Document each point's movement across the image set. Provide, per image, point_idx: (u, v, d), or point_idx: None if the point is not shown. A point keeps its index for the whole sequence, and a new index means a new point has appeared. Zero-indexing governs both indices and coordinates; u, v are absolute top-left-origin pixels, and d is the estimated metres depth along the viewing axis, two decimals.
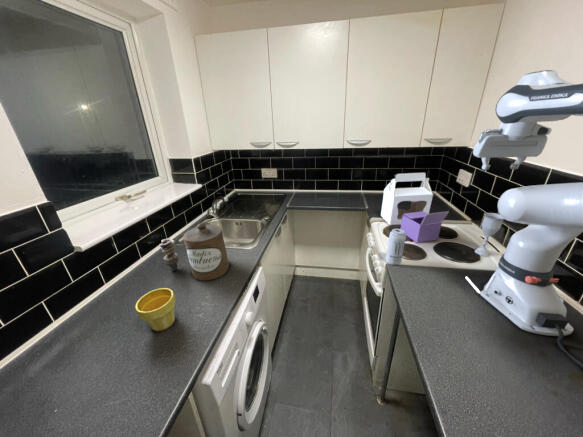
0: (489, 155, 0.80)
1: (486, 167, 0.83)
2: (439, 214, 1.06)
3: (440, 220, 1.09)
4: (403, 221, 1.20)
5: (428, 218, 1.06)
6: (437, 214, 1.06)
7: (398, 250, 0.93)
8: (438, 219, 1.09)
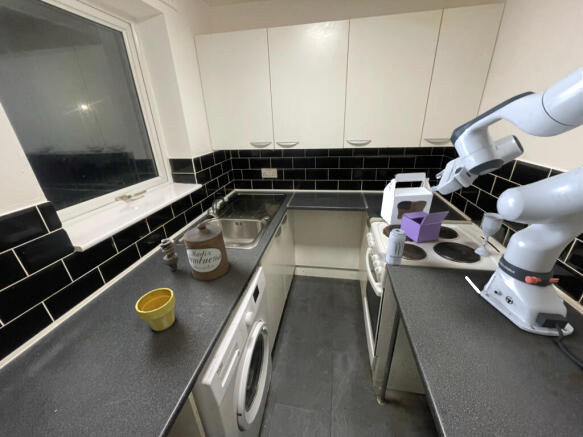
0: (447, 166, 0.99)
1: (437, 174, 1.02)
2: (439, 214, 1.06)
3: (440, 220, 1.09)
4: (403, 221, 1.20)
5: (428, 218, 1.06)
6: (437, 214, 1.06)
7: (398, 250, 0.93)
8: (438, 219, 1.09)
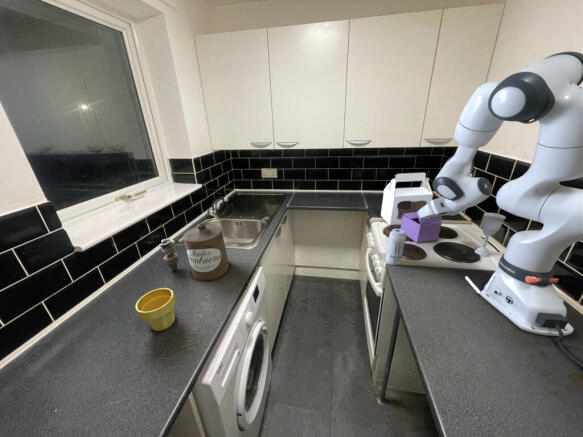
0: None
1: None
2: None
3: (438, 219, 1.10)
4: (403, 221, 1.20)
5: None
6: None
7: (398, 250, 0.93)
8: (435, 218, 1.10)
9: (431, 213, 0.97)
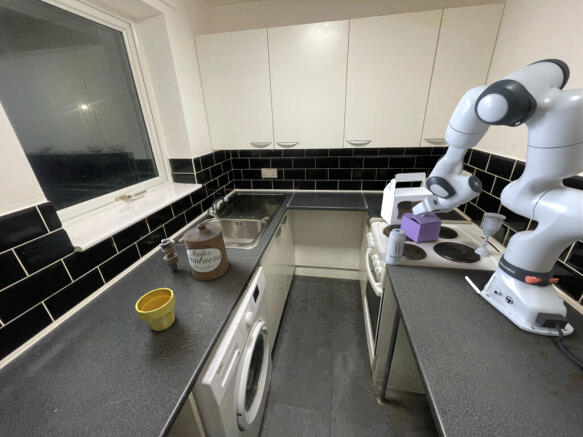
0: None
1: None
2: (426, 215, 1.14)
3: (438, 220, 1.11)
4: (403, 221, 1.20)
5: (419, 218, 1.12)
6: None
7: (398, 250, 0.93)
8: (433, 219, 1.11)
9: (425, 210, 1.01)
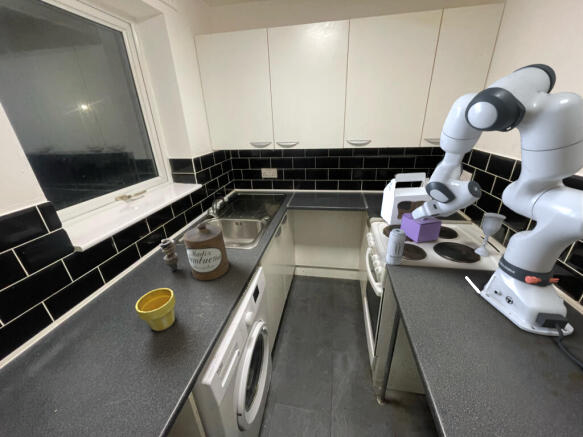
0: None
1: None
2: None
3: (437, 220, 1.11)
4: (403, 221, 1.20)
5: (418, 220, 1.12)
6: None
7: (398, 250, 0.93)
8: (433, 220, 1.12)
9: (424, 214, 1.01)
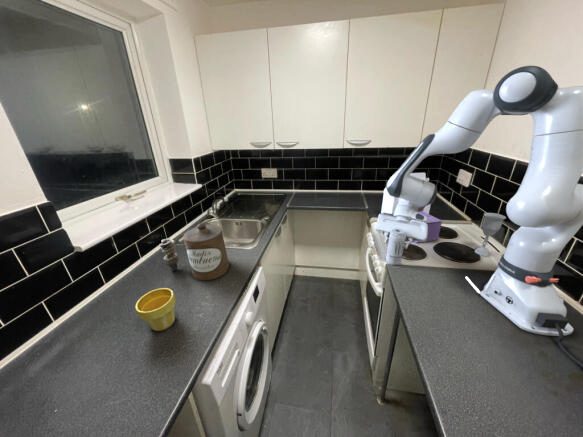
0: (383, 228, 0.98)
1: (386, 240, 0.97)
2: None
3: (437, 220, 1.11)
4: None
5: None
6: None
7: (398, 250, 0.93)
8: (433, 220, 1.12)
9: None
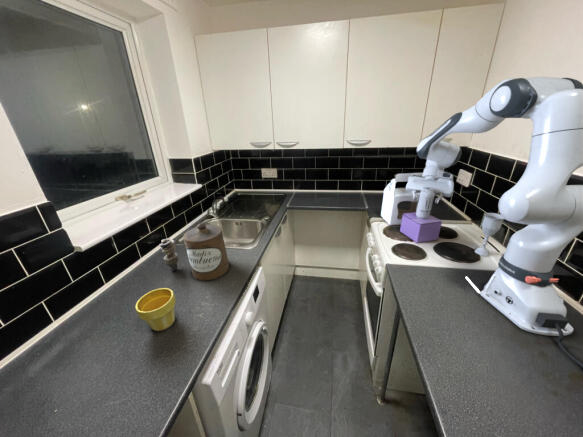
0: (413, 187, 1.14)
1: (414, 196, 1.13)
2: None
3: (437, 220, 1.11)
4: (403, 221, 1.20)
5: (418, 220, 1.12)
6: None
7: (428, 205, 1.09)
8: (433, 220, 1.12)
9: None
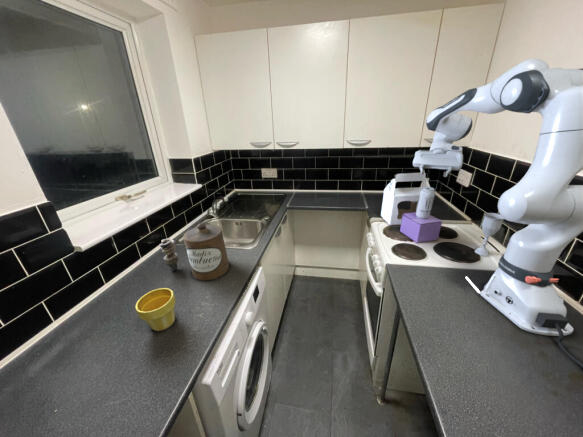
0: (421, 162, 1.11)
1: (421, 171, 1.10)
2: None
3: (437, 220, 1.11)
4: (403, 221, 1.20)
5: (418, 220, 1.12)
6: None
7: (428, 205, 1.09)
8: (433, 220, 1.12)
9: None
